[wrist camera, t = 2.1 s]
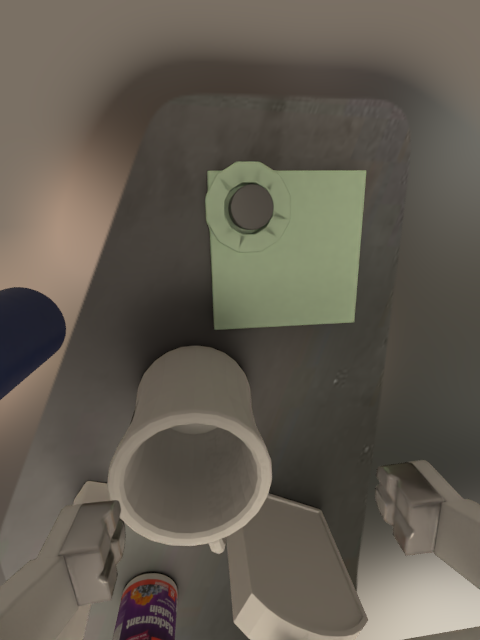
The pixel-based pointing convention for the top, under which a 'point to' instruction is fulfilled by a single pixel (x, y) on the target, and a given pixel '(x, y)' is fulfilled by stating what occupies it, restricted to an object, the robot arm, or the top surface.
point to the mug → (191, 452)
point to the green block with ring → (286, 248)
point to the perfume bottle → (76, 626)
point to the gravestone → (291, 577)
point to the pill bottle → (147, 609)
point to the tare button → (251, 207)
